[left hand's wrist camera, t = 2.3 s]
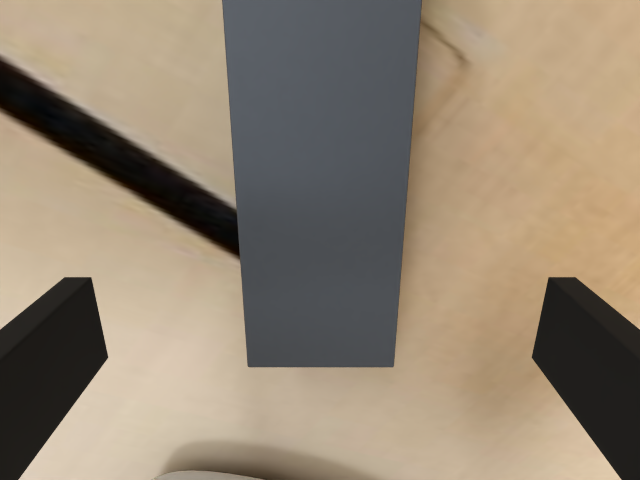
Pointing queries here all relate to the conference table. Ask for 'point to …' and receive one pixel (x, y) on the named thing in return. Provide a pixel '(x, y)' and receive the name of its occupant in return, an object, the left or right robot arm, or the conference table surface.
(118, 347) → the conference table surface
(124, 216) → the conference table surface
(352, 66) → the bar
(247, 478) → the projector
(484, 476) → the conference table surface
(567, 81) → the conference table surface
